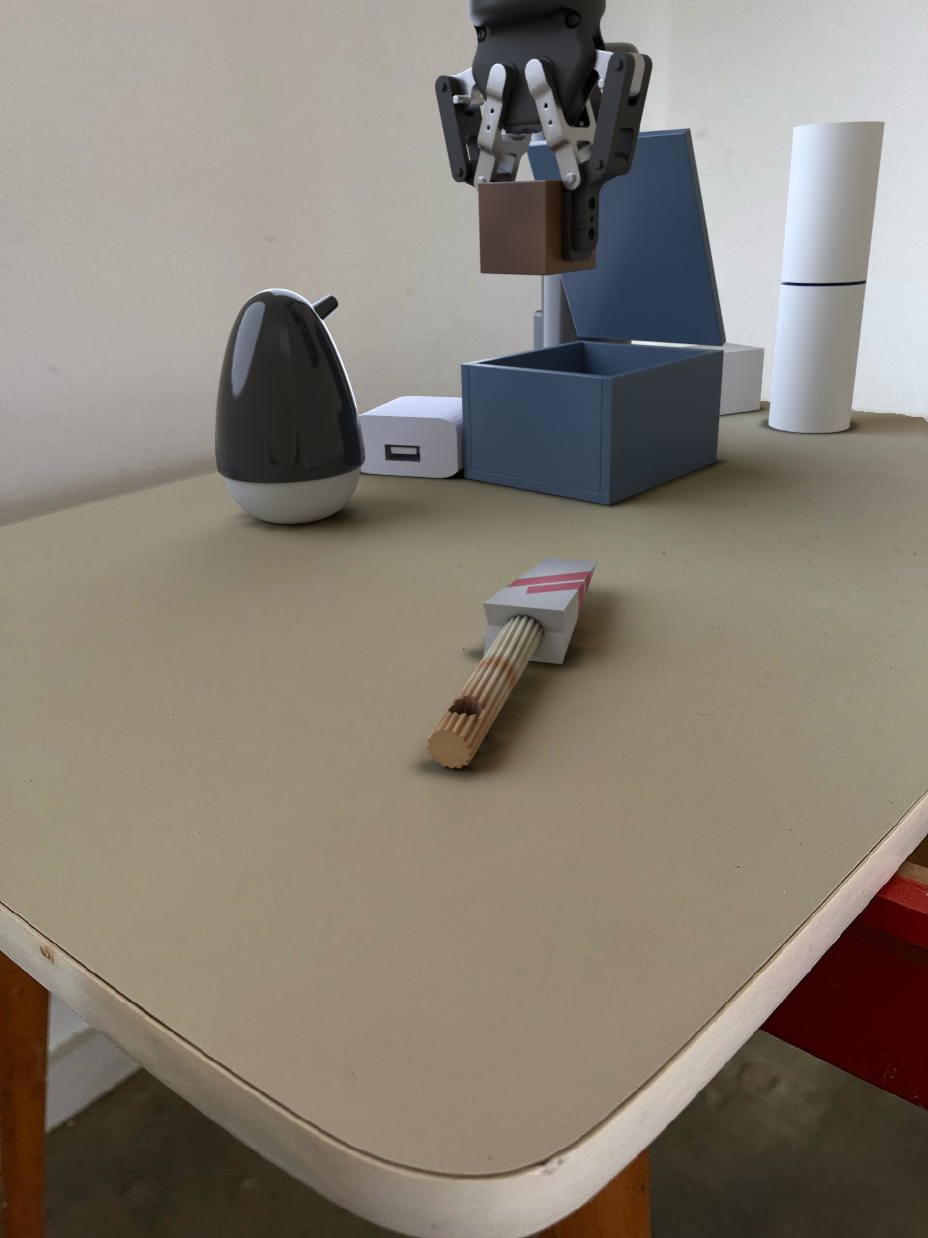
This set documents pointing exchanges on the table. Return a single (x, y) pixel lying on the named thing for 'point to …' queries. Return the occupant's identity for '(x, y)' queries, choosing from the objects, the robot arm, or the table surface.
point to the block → (523, 229)
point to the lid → (646, 249)
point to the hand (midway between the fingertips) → (537, 258)
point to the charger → (414, 437)
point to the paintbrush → (513, 650)
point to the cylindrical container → (824, 274)
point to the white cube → (739, 377)
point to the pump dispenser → (286, 412)
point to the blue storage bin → (591, 417)
